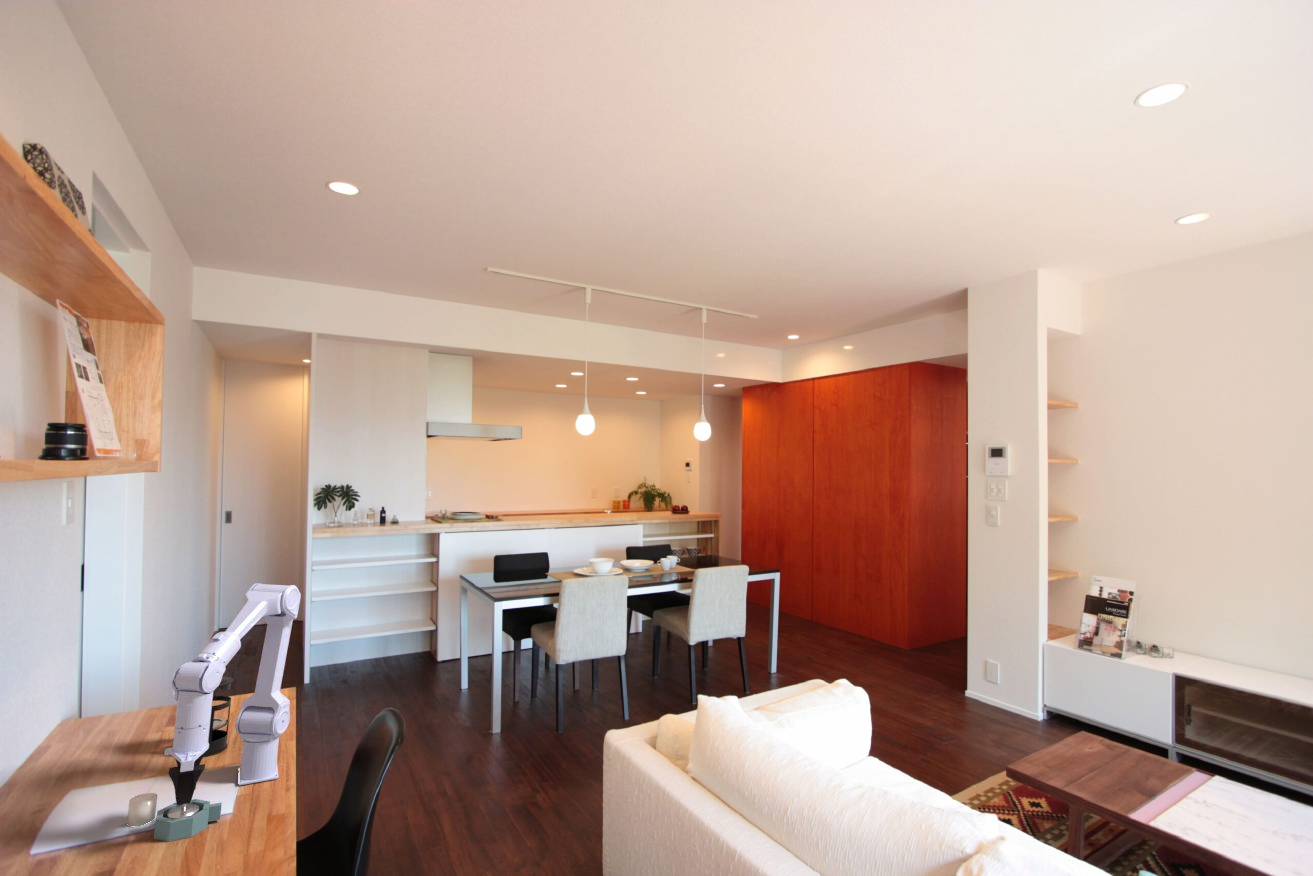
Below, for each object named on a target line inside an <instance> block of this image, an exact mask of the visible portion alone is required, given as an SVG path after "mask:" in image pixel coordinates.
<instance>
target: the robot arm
mask: <svg viewBox="0 0 1313 876" xmlns="http://www.w3.org/2000/svg"><path fill="white" fill-rule="evenodd" d="M301 596H302V594H301V592H300V589H299V588H298V587H297V585H295V584H290V585H283V584H268V583H267V584H266V583H265V584H264V583H261V582H258V583H257V582H256V583H254V584H252V585H251V586H250V587H249V589H248V590H247V591H246V593H245V595H244V598H243V599H244V600H243V606H242V608H240V610H239V612H238V613H236V616H235V617H234V618H233V619H232V621H231V623H230V624H229V625H228V627H227V628H226V630H225V631H220V632H216V633H215V634H214V636H212V637H211V639H210V640H209V641H208V642H207V643H205V646H204V647H203V648H202V649H201V650H200V651H199V652H198V653H197V655H196V656H195V657H194V658H193V659H192V660H191V661H188V662H185V663H183V664H182V665H180V666H179V667H178V668H177V669H176V671H175V673H174V675H173V678H172V679H171V687H172V690H173V691H174V700H175V701H176V702H177V705H176V714H175V720H174V721H175V722H174V732H173V739H172V740H173V741H172V747H167V748H165V749H164V756H172V757H173V758H174V760H175V762H176V765H177V766H172V767H169V768H168V769H169V770H168V776H169V778H170V779H171V781H172V784H173V787H174V795H175V803H177V805H182V804H188V803H190V802H191V800H193V797H194V793H195V791H196V789H195V786H196V787H197V783H198V780H199V778H200V777H201V775H202V774H203V772H204V770H205V768H206V763H203V764H201V762H202V760H203V758H204V757H203V756H204V754H205V753H206V751H207V750H208V748H209V743H208V738H209V729H210V719H211V709H212V706H213V704H212V699H213V696H214V691H215V690H216V689H217V687H218V686H219V684H220V682H221V679H222V676H223V675H224V674H225V672H226V669H227V668H226V666H228V664H229V663H230V662H231V660H232V659H233V658H234V657H235V655H236V654H237V653H238V651H239V650H240V649H241V648H242V642H241V639H242V638H243V637H244V636H246V634H248V633H249V631H250V630H251V629H252V628H253V627H254V626H255V625H256V624H257V623H258V621H260V620H261V618H262V619H263V620H264V621H265V623H266V631H265V635H264V642H263V647H262V652H261V658H260V663H259V667H258V673H257V678H256V684H255V689H254V693H253V694H251V695H250V696H249V697H247V698H245V699H244V700H243V701H242V703H241V708H240V710H239V712H238V715H237V716H236V719H235V723H234V724H235V731H236V733H237V734H239V735H240V736H239V737H240V738H239V739H240V740H242V747H241V757H240V759H241V760H240V766H239V767H240V782H239V785H238V786H243V785H248V784H249V785H250V784H255V783H261V782H266V781H272V780H277V779H279V769H278V768H279V767H278V766H279V765H278V755H279V754H278V753H279V752H278V751H279V745H280V744H279V742H280V736H282V735H283V733H284V732H286V730H287V729H288V727H289V724H290V720H291V714H290V705H291V701H290V699H289V698H287V697H286V696H285V695H284V694H283V693H281V688H282V681H283V676H284V671H285V666H286V661H287V660H286V659H287V654H288V648H289V643H290V638H291V632H292V627H293V623H294V622H293V621H294V620H297V618H298V614H299V608H300V604H301V599H302V597H301Z"/></svg>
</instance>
